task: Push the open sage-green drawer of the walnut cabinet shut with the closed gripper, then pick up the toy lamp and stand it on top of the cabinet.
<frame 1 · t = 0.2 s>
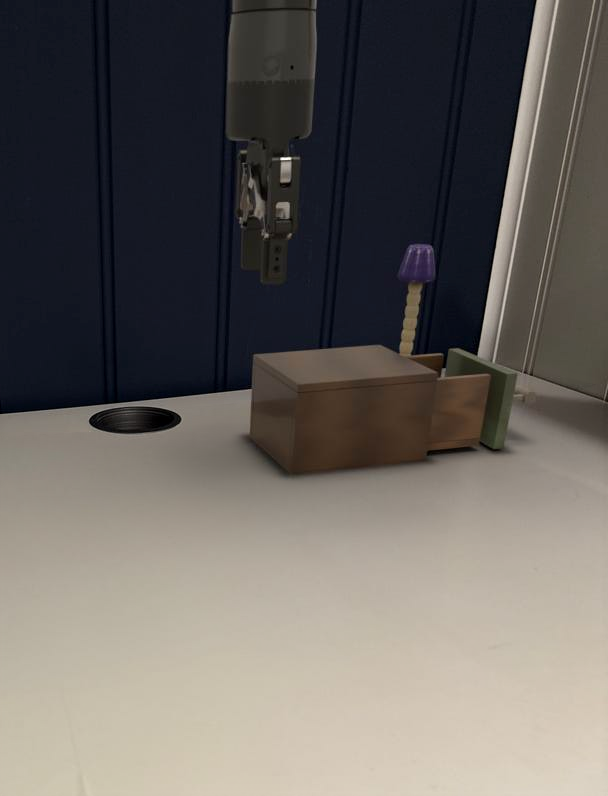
hand: (262, 276, 88), 18 cm above the table, tool pointing down, fingers open, 8 cm apart
drawer: (441, 400, 99), point 5 cm above the table, slide at 8.0 cm
cabinet: (333, 454, 99), on the table
toy lamp: (402, 380, 125), on the table
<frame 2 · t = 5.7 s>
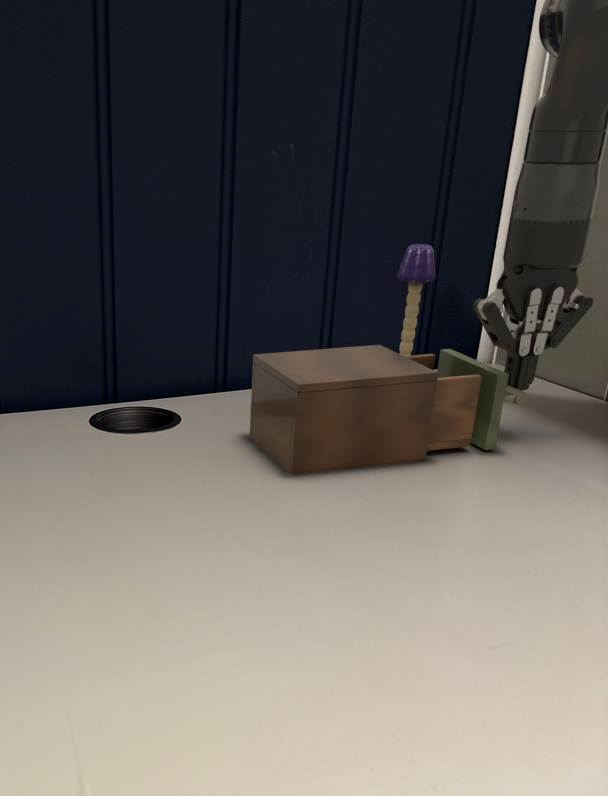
hand: (516, 388, 100), 5 cm above the table, tool pointing down, fingers closed
drawer: (432, 401, 99), point 5 cm above the table, slide at 7.0 cm, touching gripper
everything else where it was.
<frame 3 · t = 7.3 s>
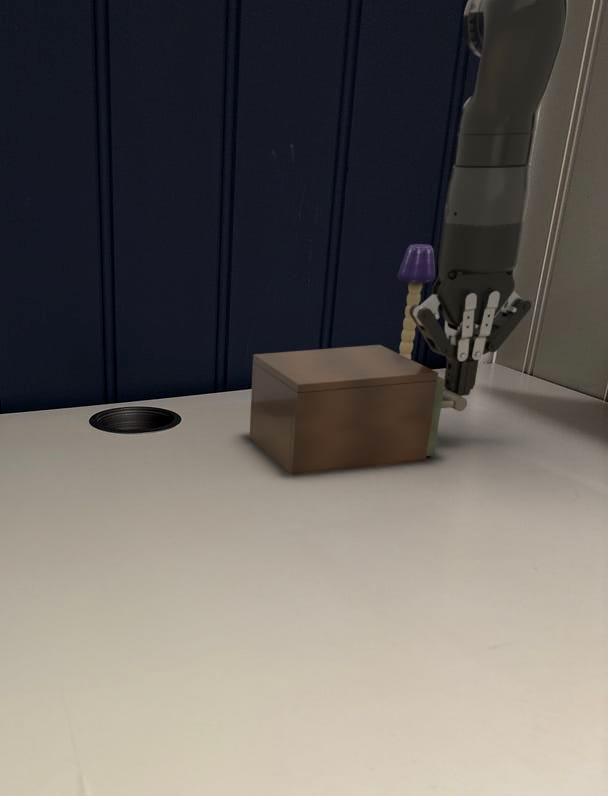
hand: (457, 394, 99), 5 cm above the table, tool pointing down, fingers closed
drawer: (372, 406, 97), point 5 cm above the table, slide at 0.0 cm, touching cabinet, gripper
everything else where it was.
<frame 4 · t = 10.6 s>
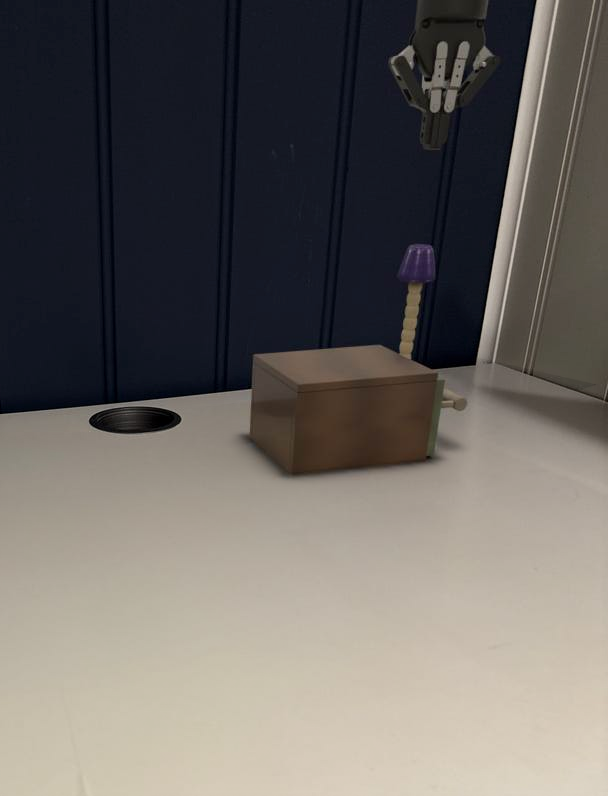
hand: (432, 149, 110), 27 cm above the table, tool pointing down, fingers closed
drawer: (372, 406, 97), point 5 cm above the table, slide at 0.0 cm
everything else where it was.
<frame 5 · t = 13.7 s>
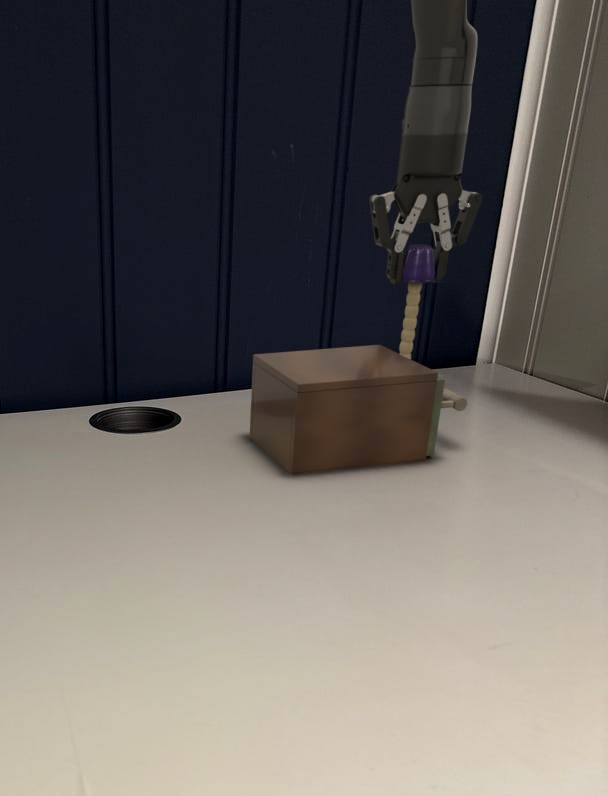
hand: (415, 281, 118), 12 cm above the table, tool pointing down, fingers closed on toy lamp, 4 cm apart
toy lamp: (402, 380, 125), on the table, touching gripper
everything else where it was.
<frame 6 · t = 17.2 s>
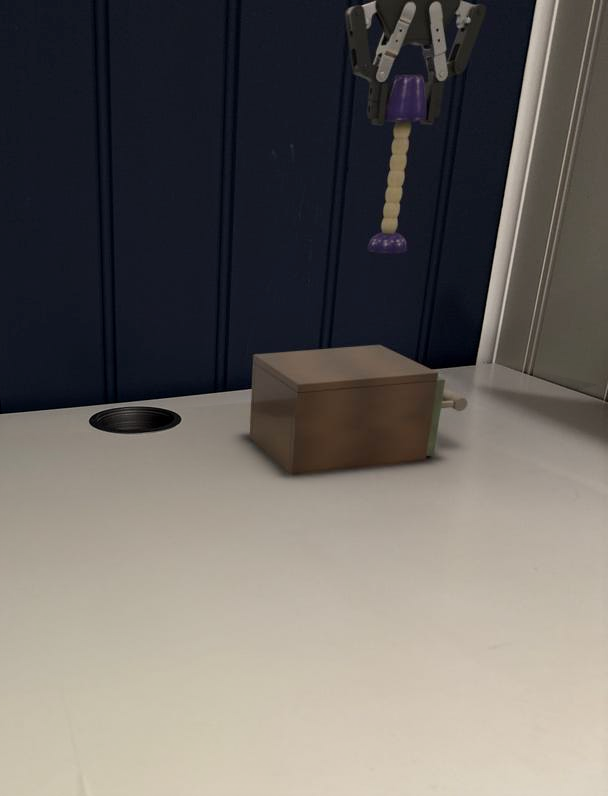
hand: (402, 123, 96), 30 cm above the table, tool pointing down, fingers closed on toy lamp, 4 cm apart
toy lamp: (387, 253, 103), point 18 cm above the table, touching gripper
everything else where it was.
when the fingers open (22 cm above the table, at t = 20.8 s): toy lamp stays where it is, resting on cabinet.
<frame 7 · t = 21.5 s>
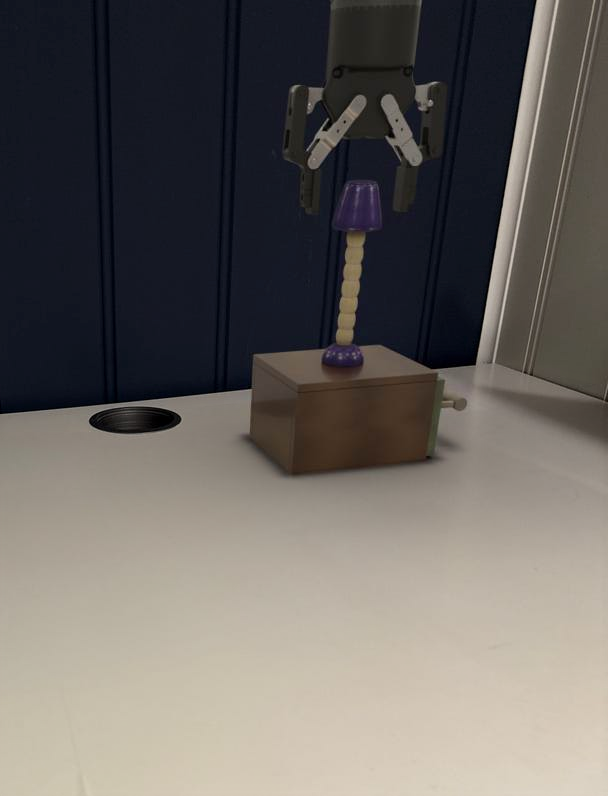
hand: (356, 212, 87), 24 cm above the table, tool pointing down, fingers open, 8 cm apart
toy lamp: (342, 364, 94), point 9 cm above the table, touching cabinet
everything else where it was.
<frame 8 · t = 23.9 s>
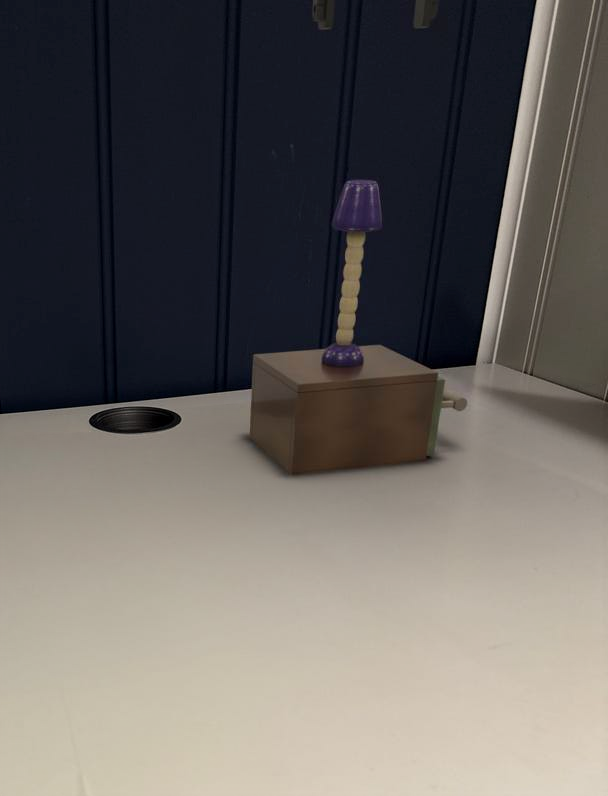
hand: (373, 28, 80), 38 cm above the table, tool pointing down, fingers open, 8 cm apart
nothing on the table moved.
at the end: drawer slide at 0.0 cm; toy lamp inside the target area on the cabinet (0.1 cm from its centre), point 9.4 cm above the cabinet's base; toy lamp tilted 0° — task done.
